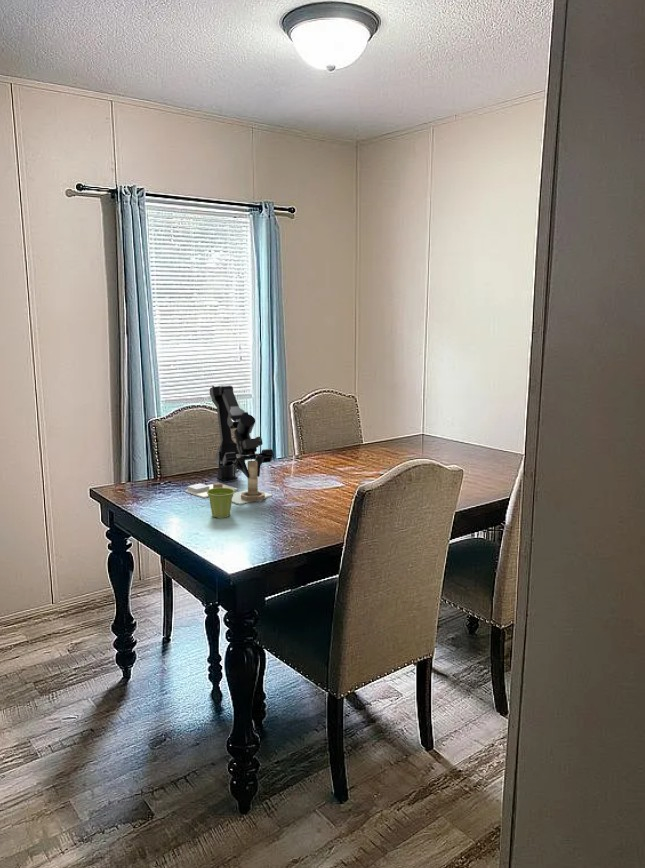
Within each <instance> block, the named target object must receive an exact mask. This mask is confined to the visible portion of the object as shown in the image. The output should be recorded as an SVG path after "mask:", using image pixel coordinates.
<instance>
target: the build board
mask: <svg viewBox="0 0 645 868" xmlns="http://www.w3.org/2000/svg"><path fill="white" fill-rule="evenodd" d="M272 497H273V494H271V493H268V492H266V491H261V490H258V494H255V495H251V494H248V489H246V490H241V491H237V492H234V494H233V497H232V502H231V504H235V505H239V506H242V505H245V503H246V504H249V503H253V502H259V501H263V500H265V499H266V498H272ZM241 504H242V505H241Z"/></svg>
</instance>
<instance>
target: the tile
mask: <svg viewBox="0 0 645 868" xmlns="http://www.w3.org/2000/svg"><path fill="white" fill-rule="evenodd" d="M213 488H230V489H233V490H234V491H235V490H236V491H238V490H239V489H238V488H237V487H233V486H231V485H227V484H224V483H222V482H214V483H211V484H208V485H206V484H204V483H202V482H201V483H197V484H196V483H195V484H190V485H187V489H186V490H185V493H188V494H190V493H191V495H194V496H196V497H199V498H201V499H206V498H209V497H208V494H207V491H208V490H209V489H213Z"/></svg>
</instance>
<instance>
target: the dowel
mask: <svg viewBox="0 0 645 868" xmlns="http://www.w3.org/2000/svg"><path fill="white" fill-rule="evenodd" d="M247 469H248V472H249V478H247V490H248V494H251V495H255V494H258V489H259V488H258V487H259V486H258V485H259V483H258V482H259V480H258V478H259V477H258V468H257V461H255V460H247Z"/></svg>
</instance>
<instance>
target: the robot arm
mask: <svg viewBox="0 0 645 868" xmlns="http://www.w3.org/2000/svg"><path fill="white" fill-rule="evenodd" d="M209 396H210V397H211V401H212V403H213V404H214V405H215V407H216V411H217V422H218V429H219V437H220V439H219V440H220V442H219V444H218V447H217V452H216V455H215V457H214V461H215V465H217V466H218V468H217V476H216V479H219V480H222V481H226V482H227V481H230V480H234V479H238V476H237V475H236V468H237V469H239V471H241V472H242V474H243V475H244V476H245V477H247V479H248V478H249V472H248V465H247V464H246V461H257V468H258V478H259V477H260V475H261V466H262V465H263V464H264V463H265V464H266V463H271V462H272V460H273V458H274V456H275V451H274V450H273V449H272V448H265V449H264V448H263V449H262V450H261V452H260V453H259V452H258V453H256V452H257V451H258V449H257V448H259V447H260V446H262V445H263V439H262V437H261V436H256V437H255V438H251V435H250V434H251V433H252V432H253V429H254V427H255V424H256V418H255V416H253V415H251V414H249V412H248V411H245V410H244V409H242V408H241V407H240V406H239V402H238V400H237V398H236V395H235V393H234V387H233V385H231V384H213V385H212V386H211V387H210V388H209ZM233 429H235V430H234V432H233V436H234V437H233V438H232V430H233ZM233 439H234V440H235V441H234V440H233Z"/></svg>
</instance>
